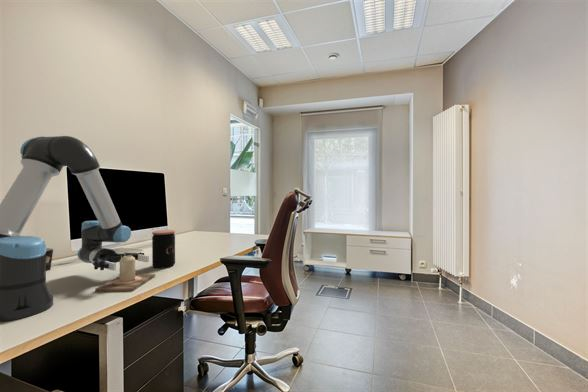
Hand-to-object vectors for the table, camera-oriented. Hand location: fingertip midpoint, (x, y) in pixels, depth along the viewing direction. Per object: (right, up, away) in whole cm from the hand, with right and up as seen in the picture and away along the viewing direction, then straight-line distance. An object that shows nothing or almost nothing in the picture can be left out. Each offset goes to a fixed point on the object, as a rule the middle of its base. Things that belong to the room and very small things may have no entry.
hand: (132, 262), depth 109 cm
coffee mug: (-58, -9, +19) cm, 62 cm away
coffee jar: (-1, -9, +29) cm, 30 cm away
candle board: (-3, -9, +2) cm, 10 cm away
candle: (-3, -8, +2) cm, 8 cm away
